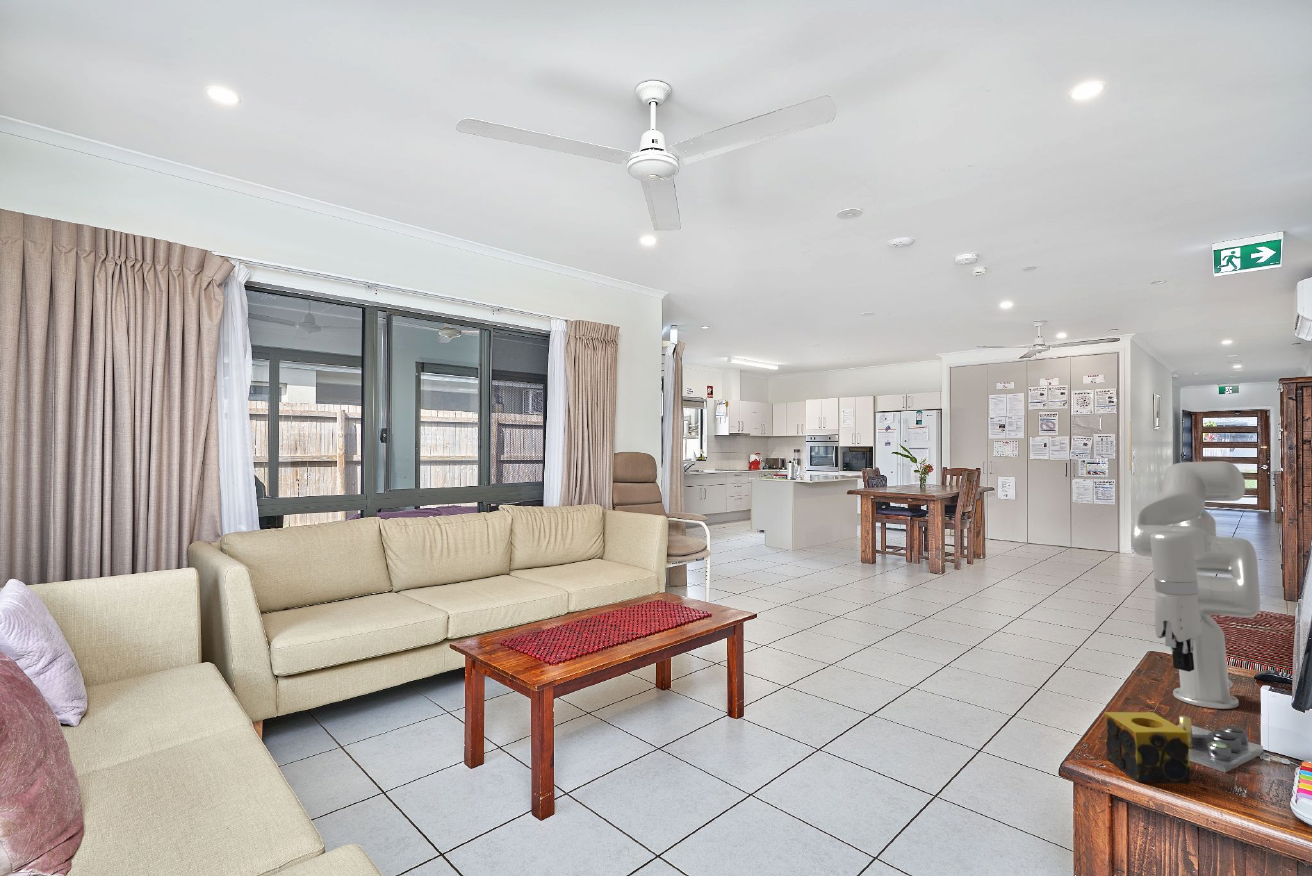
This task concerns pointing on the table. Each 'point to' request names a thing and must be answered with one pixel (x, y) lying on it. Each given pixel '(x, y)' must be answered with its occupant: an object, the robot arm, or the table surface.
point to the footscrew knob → (1209, 736)
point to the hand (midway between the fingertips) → (1184, 669)
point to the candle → (1147, 747)
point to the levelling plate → (1222, 765)
